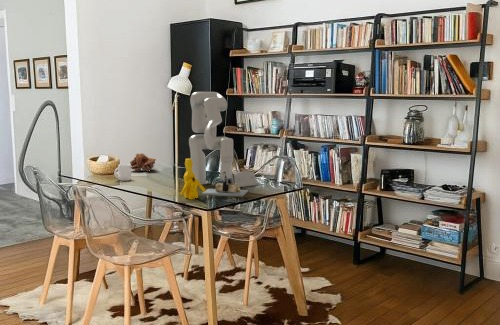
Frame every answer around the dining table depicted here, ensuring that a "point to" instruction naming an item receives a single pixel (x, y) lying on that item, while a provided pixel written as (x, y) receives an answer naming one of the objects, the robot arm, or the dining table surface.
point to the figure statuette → (190, 182)
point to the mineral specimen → (142, 162)
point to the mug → (123, 172)
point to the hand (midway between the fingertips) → (227, 189)
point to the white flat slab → (224, 193)
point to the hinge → (244, 179)
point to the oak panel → (231, 186)
